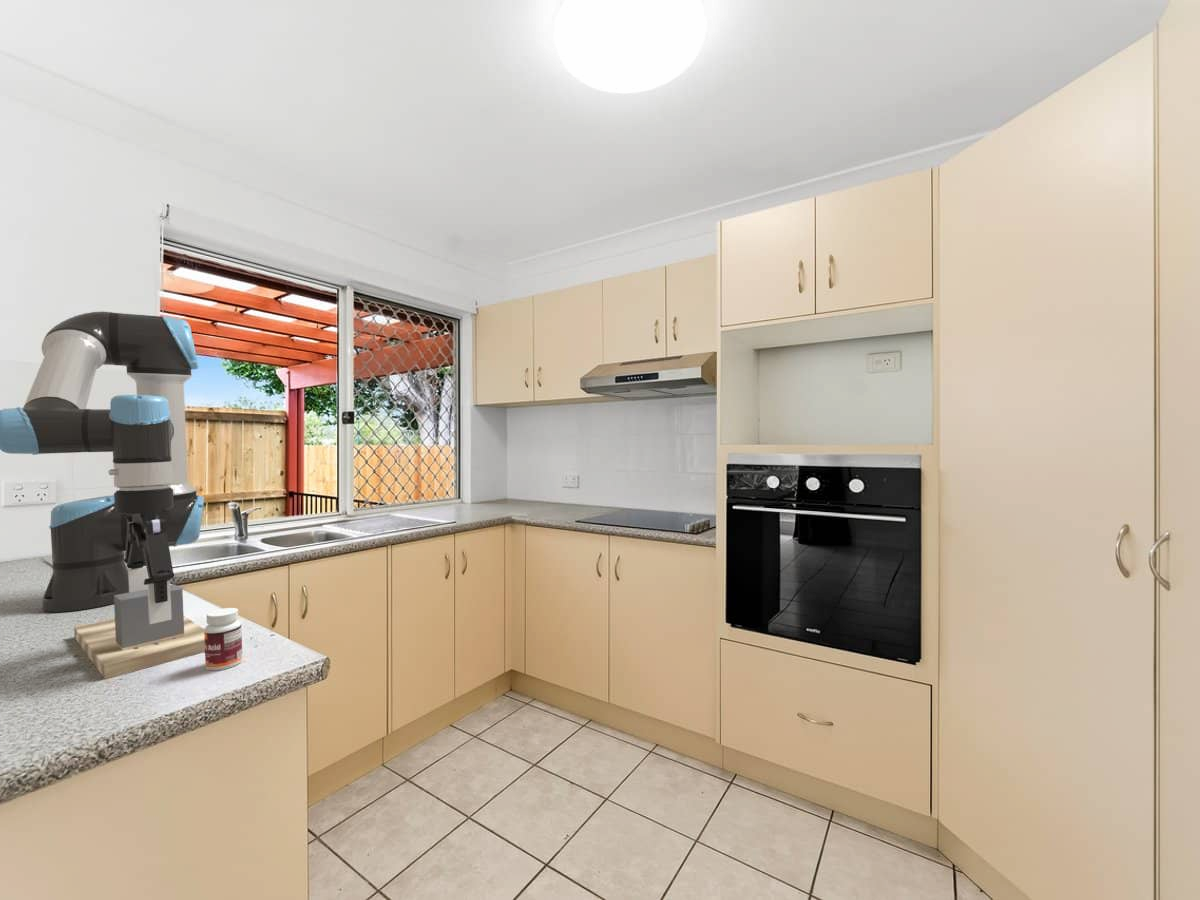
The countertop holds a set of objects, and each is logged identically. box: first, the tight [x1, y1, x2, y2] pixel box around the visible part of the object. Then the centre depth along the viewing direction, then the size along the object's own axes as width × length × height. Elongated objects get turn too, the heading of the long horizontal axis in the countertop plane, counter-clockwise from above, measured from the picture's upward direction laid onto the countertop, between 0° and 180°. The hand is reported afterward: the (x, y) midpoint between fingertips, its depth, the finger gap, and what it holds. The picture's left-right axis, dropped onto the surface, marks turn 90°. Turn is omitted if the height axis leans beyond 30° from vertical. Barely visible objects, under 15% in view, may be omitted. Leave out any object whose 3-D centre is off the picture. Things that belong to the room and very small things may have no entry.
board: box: [73, 615, 205, 680], centre depth 93 cm, size 28×14×2 cm, turn 51°
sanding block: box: [113, 583, 185, 650], centre depth 90 cm, size 8×5×8 cm, turn 141°
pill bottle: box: [204, 607, 243, 671], centre depth 83 cm, size 5×5×8 cm
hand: (149, 612), depth 90 cm, fingers open, 13 cm apart
